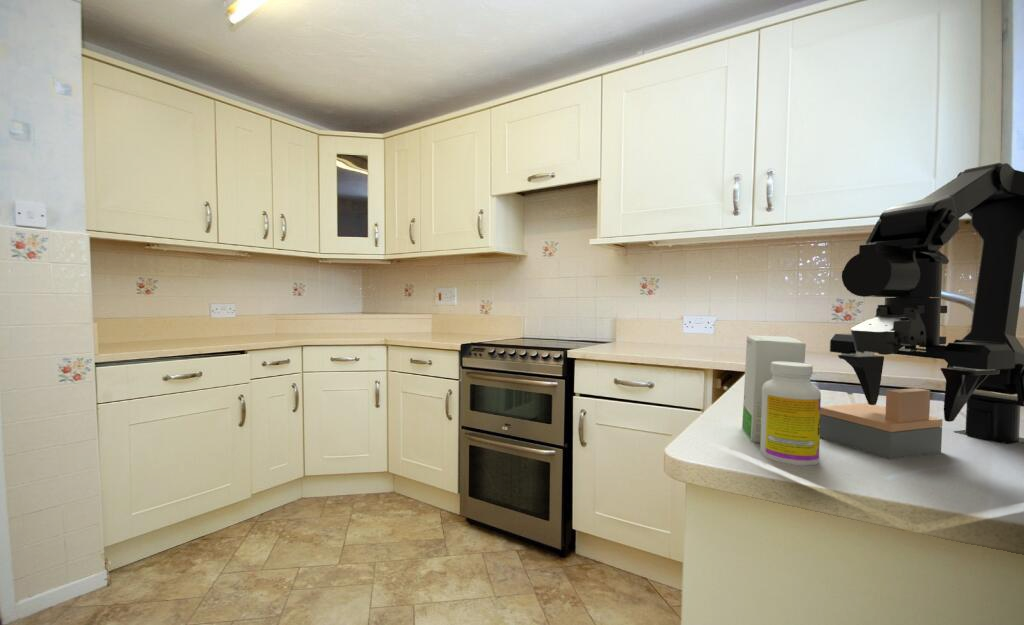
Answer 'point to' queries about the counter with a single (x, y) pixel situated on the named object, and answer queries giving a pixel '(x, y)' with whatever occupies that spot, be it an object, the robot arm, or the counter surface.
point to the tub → (881, 438)
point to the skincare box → (764, 374)
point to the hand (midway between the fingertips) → (907, 412)
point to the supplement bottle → (790, 415)
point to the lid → (890, 411)
